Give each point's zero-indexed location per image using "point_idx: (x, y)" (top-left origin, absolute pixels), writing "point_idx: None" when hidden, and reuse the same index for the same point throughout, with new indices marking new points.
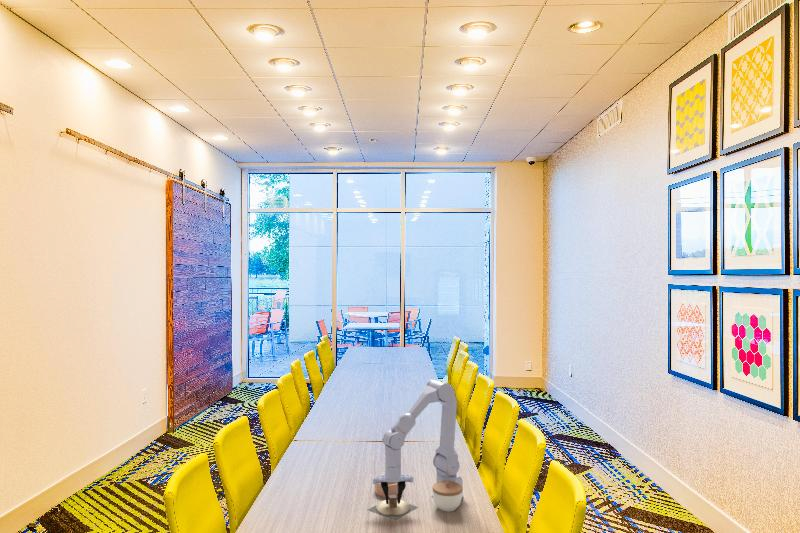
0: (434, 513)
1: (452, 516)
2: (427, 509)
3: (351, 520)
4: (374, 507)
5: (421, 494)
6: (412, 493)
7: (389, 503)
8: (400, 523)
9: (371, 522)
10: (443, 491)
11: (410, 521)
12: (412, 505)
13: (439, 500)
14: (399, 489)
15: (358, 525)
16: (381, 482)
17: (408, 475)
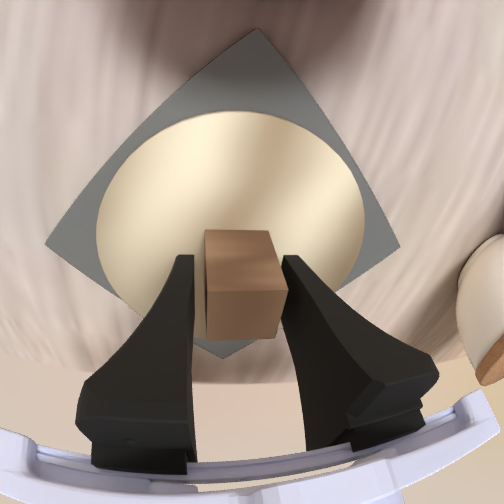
0: (422, 301)
1: (450, 320)
2: (424, 264)
3: (11, 325)
4: (87, 215)
5: (494, 62)
6: (458, 14)
7: (204, 286)
8: (238, 369)
9: (100, 353)
10: (491, 380)
11: (289, 358)
12: (384, 219)
13: (464, 348)
14: (307, 421)
15: (54, 361)
16: (113, 475)
17: (475, 447)
